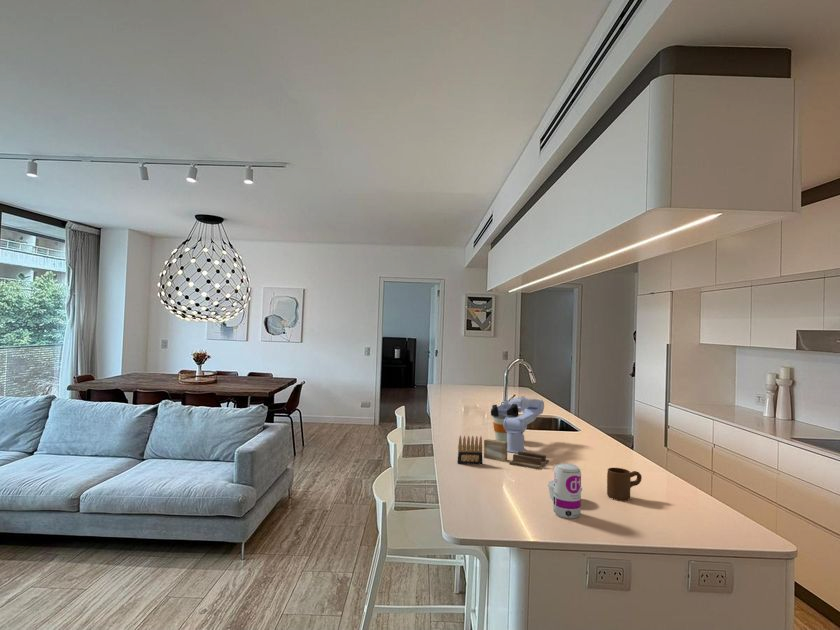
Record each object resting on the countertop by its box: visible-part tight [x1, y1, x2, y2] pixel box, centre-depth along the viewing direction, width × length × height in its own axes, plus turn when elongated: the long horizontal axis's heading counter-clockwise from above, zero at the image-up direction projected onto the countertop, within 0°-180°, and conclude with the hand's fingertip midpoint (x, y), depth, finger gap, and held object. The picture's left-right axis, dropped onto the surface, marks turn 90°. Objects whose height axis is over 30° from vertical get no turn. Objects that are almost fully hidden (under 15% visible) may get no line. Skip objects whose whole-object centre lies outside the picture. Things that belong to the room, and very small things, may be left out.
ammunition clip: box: [457, 435, 484, 465], centre depth 209 cm, size 11×2×12 cm, turn 90°
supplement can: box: [552, 462, 582, 520], centre depth 153 cm, size 8×8×15 cm
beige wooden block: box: [483, 438, 508, 462], centre depth 218 cm, size 3×10×8 cm, turn 59°
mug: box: [606, 467, 643, 501], centre depth 170 cm, size 12×8×9 cm, turn 94°
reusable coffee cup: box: [492, 414, 516, 442], centre depth 255 cm, size 13×13×15 cm
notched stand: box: [509, 451, 550, 470], centre depth 211 cm, size 14×13×4 cm
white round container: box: [547, 479, 583, 502], centre depth 166 cm, size 11×11×5 cm
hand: (499, 413), depth 217 cm, fingers open, 7 cm apart
